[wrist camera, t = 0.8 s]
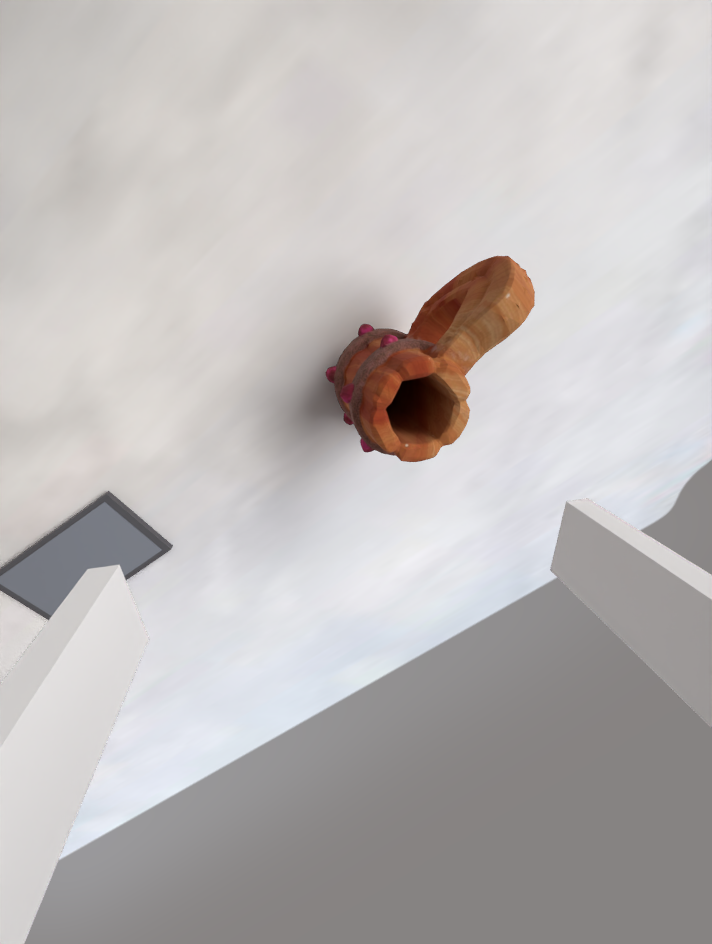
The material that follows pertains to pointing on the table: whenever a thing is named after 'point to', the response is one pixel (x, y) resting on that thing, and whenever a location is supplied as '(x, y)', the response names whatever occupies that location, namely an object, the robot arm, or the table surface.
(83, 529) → the phone
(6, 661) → the table surface
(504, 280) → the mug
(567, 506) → the robot arm
